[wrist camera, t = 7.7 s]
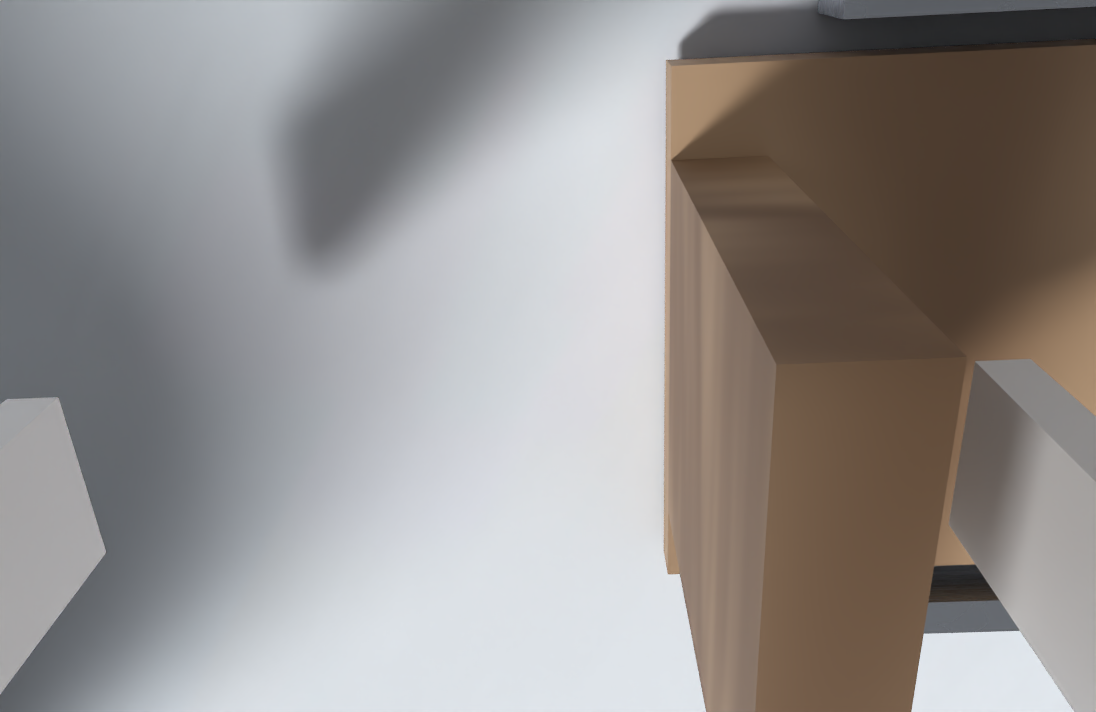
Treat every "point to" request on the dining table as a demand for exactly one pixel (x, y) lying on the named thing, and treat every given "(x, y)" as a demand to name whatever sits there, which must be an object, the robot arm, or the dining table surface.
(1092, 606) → the robot arm
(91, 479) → the dining table surface
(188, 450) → the dining table surface
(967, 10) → the lane rails
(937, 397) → the tan wooden holder
